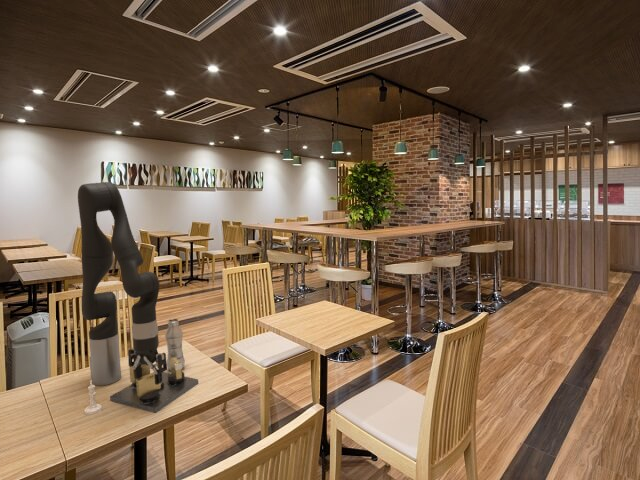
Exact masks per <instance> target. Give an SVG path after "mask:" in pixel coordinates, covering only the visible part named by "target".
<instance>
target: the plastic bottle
mask: <svg viewBox="0 0 640 480" xmlns="http://www.w3.org/2000/svg"><path fill="white" fill-rule="evenodd" d="M167 323H168V324H167V326H168V327H167V328H166V330H165V332H164V338H165V342H166V348H167V358H166V362H167V370H169V371H171V370H170V358H172V357H176V358H177V360H178V361H179V362H181V363H182V369H184V367H185V357H184V353H183V352H184V351H183V333H184V332H183V330H182V328H181V327H180V326H179V319H178V318H171V319H169V320H167Z"/></svg>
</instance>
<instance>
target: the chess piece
mask: <svg viewBox="0 0 640 480" xmlns="http://www.w3.org/2000/svg"><path fill="white" fill-rule="evenodd" d="M95 388H96V385H94V384H93V381H92V380H91V379H90V380H89V386H87V389H88V391H89V393H87V396H90V399H89V401H90V402H89V405H88V406H87V407H86V408H85V409H84V415H87V416H88V415H89V416H90V415H95V414H98V413H99V412H101V411H103V410H102V409H103V405H102V404H100V403H97V402H96V398H95V395H96V393H97V392H96V391H95Z"/></svg>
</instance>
